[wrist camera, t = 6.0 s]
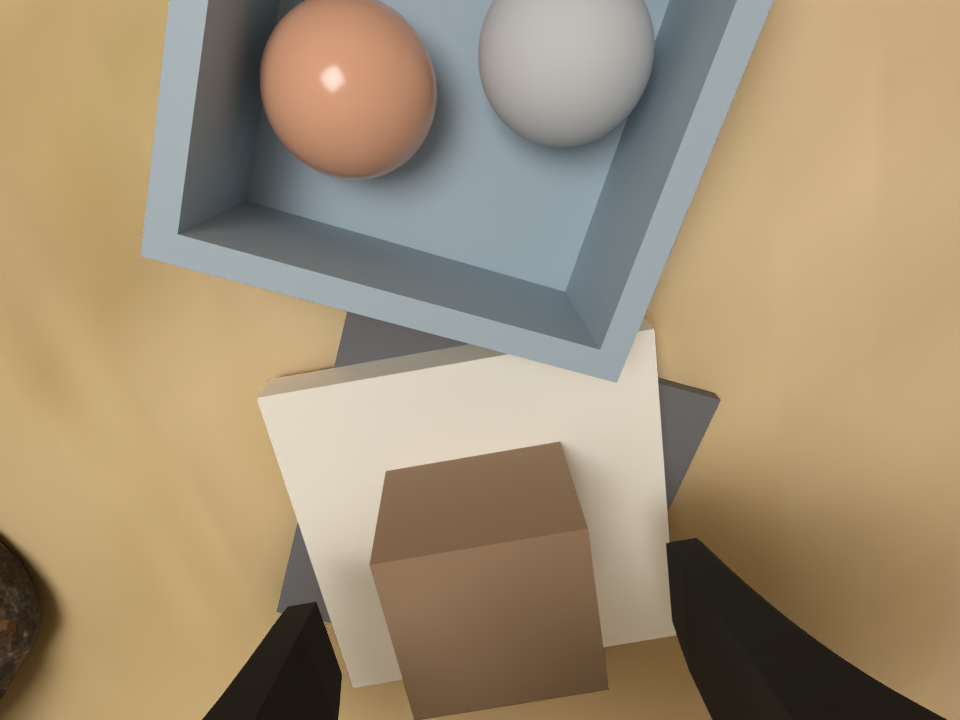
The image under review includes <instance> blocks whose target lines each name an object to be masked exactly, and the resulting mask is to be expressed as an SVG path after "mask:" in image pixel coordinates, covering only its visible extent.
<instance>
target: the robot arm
mask: <svg viewBox="0 0 960 720" xmlns="http://www.w3.org/2000/svg"><path fill="white" fill-rule="evenodd" d="M666 552H667V564H668V577H669V589H670V602H671V614H672V622H673V625H674V628H675V631H676V634H677V637H678V640H679V643H680V646H681V649H682V651H683V654H684V657H685V660H686V663H687V665H688V668H689V671H690V673H691V675H692V677H693V679H694V682H695V684H696V686H697V688H698V690H699V692H700V694H701V696H702V698H703V701H704V703H705V705H706V707H707V709H708V711H709V713H710V715H711V717H712V720H947V719H945V718H943V717H941V716H939V715H937V714H935V713H933V712H932V711H930V710H928V709H926V708H924V707H923V706H921V705H919V704H917V703H915V702H913V701H912V700H910V699H908V698H906V697H904V696H903V695H901V694H899V693H897V692H895V691H894V690H892V689H890V688H888V687H887V686H885V685H883V684H882V683H880V682H878V681H877V680H875V679H874V678H872V677H870V676H869V675H867V674H866V673H864V672H862V671H861V670H859V669H858V668H856V667H855V666H853V665H852V664H850V663H849V662H847V661H846V660H844V659H843V658H841V657H840V656H838V655H837V654H835V653H834V652H832V651H831V650H830V649H828V648H827V647H825V646H824V645H823V644H821V643H820V642H818V641H817V640H816V639H814V638H813V637H812V636H810V635H809V634H808V633H806V632H805V631H804V630H802V629H801V628H800V627H798V626H797V625H796V624H794V623H793V622H792V621H791V620H789V619H788V618H787V617H786V616H784V615H783V614H782V613H781V612H779V611H778V610H777V609H776V608H775V607H773V606H772V605H771V604H770V603H769V602H767V601H766V600H765V599H764V598H763V597H761V596H760V595H759V594H758V593H757V592H755V591H754V590H753V589H752V588H751V587H750V586H748V585H747V584H746V583H745V582H744V581H743V580H742V579H741V578H739V577H738V576H737V575H736V574H735V573H734V572H733V571H732V570H731V569H729V568H728V567H727V566H726V565H725V564H724V563H723V562H722V561H721V560H720V559H719V558H718V557H717V556H716V555H715V554H714V553H712V552H711V551H710V550H709V549H708V548H707V547H706V546H705V545H704V544H703V543H702V542H701V541H699V540H698V539H697V538H693V539H687V540H681V541H675V542H669V543H666ZM341 680H342V674H341V671H340V668H339V665H338V662H337V659H336V656H335V654H334V651H333V648H332V645H331V642H330V639H329V636H328V633H327V631H326V628H325V625H324V622H323V619H322V616H321V613H320V610H319V608H318V605H317V602H311V603H305V604H299V605H293V606H288V607H287V608H286V609H285V611H284V612H283V613H282V615H281V616H280V617H279V619H278V620H277V621H276V623H275V624H274V625H273V627H272V628H271V629H270V631H269V632H268V634H267V635H266V636H265V638H264V639H263V641H262V642H261V643H260V645H259V646H258V647H257V649H256V650H255V652H254V653H253V654H252V656H251V657H250V658H249V660H248V661H247V663H246V664H245V665H244V667H243V668H242V669H241V671H240V672H239V673H238V675H237V676H236V677H235V679H234V680H233V681H232V683H231V684H230V685H229V687H228V688H227V689H226V691H225V692H224V693H223V695H222V696H221V697H220V698H219V700H218V701H217V702H216V703H215V705H214V706H213V707H212V708H211V709H210V711H209V712H208V713H207V714H206V716H205V717H204V718H203V719H202V720H338V715H339V705H340V692H341Z"/></svg>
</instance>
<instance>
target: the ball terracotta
mask: <svg viewBox="0 0 960 720" xmlns="http://www.w3.org/2000/svg"><path fill="white" fill-rule="evenodd" d="M259 77H260V92H261V99H262V103H263V107H264V110H265V113H266V116H267V118H268V121H269V123H270V125H271V127H272V129H273V131H274V132H275V134H276V136H277V137H278V138H279V140H280V141H281V143H282V144H283V145H284V146H285V147H286V148H287V149H288V151H289V152H290V153H291V154H292V155H294V156H295V157H296V158H297V159H298V160H299V161H301V162H302V163H304V164H305V165H307V166H308V167H310V168H311V169H313V170H315V171H317V172H319V173H321V174H324V175H327V176H330V177H333V178H338V179H342V180H367V179H372V178H376V177H379V176H382V175H385V174H387V173H390V172H392V171H394V170H396V169H397V168H399V167H400V166H402V165H403V164H404V163H406V162H407V161H408V160H409V159H410V158H411V157H412V156H413V155H414V154H415V153H416V152H417V150H418V149H419V148H420V147H421V145H422V144H423V142H424V140H425V139H426V137H427V135H428V133H429V131H430V128H431V125H432V122H433V119H434V115H435V110H436V103H437V83H436V76H435V71H434V67H433V64H432V60H431V57H430V55H429V53H428V50H427V48H426V46H425V44H424V42H423V41H422V39H421V37H420V36H419V34H418V33H417V32H416V30H415V29H414V28H413V26H412V25H411V24H410V23H409V22H408V21H407V20H406V19H405V18H404V17H403V16H402V15H401V14H399V13H398V12H397V11H395V10H394V9H393V8H391V7H390V6H388V5H386V4H385V3H383V2H381V1H379V0H305V1H303V2H302V3H300V4H298V5H297V6H295V7H294V8H293V9H291V10H290V11H289V12H288V13H287V14H286V15H285V16H284V17H283V18H282V19H281V20H280V21H279V22H278V24H277V25H276V26H275V28H274V29H273V31H272V33H271V35H270V36H269V38H268V40H267V43H266V46H265V48H264V51H263V55H262V59H261V65H260V75H259Z"/></svg>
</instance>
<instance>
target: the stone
mask: <svg viewBox="0 0 960 720" xmlns="http://www.w3.org/2000/svg"><path fill="white" fill-rule="evenodd" d="M40 620H41V612H40V605H39V598H38V592H37V590H36V589H35V587H34V585H33V584H32V582H31V580H30V578H29V576H28V574H27V572H26V570H25V568H24V566H23V564H22V562H21V561H20V560H19V559H18V558H17V557H16V556H15V555H14V554H13V553H11V552H10V551H9V550H8V549H7V548H6V547H5V546H4V545H3V544H2V543H1V542H0V699H1V698H2V697H3V695H4V694H5V692H6V690H7V689H8V687H9V685H10V683H11V681H12V679H13V677H14V676H15V674H16V672H17V671H18V670H19V668H20V667H21V665H22V664H23V663H24V661H25V660H26V658H27V657H28V655H29V654H30V652H31V651H32V650H33V648H34V644H35V640H36V636H37V632H38V628H39V624H40Z"/></svg>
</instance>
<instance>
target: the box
mask: <svg viewBox="0 0 960 720" xmlns="http://www.w3.org/2000/svg"><path fill="white" fill-rule="evenodd" d="M303 1H305V0H169V7H168V16H167V25H166V34H165V43H164V51H163V60H162V69H161V78H160V87H159V96H158V105H157V114H156V123H155V132H154V141H153V150H152V159H151V168H150V177H149V186H148V195H147V203H146V212H145V221H144V230H143V239H142V248H141V256H142V257H145V258H149V259H153V260H157V261H160V262H164V263H168V264H172V265H175V266H179V267H183V268H187V269H190V270H194V271H198V272H202V273H206V274H209V275H213V276H217V277H221V278H224V279H228V280H232V281H236V282H239V283H243V284H247V285H251V286H254V287H258V288H262V289H266V290H269V291H273V292H277V293H281V294H284V295H288V296H292V297H296V298H299V299H303V300H307V301H311V302H314V303H318V304H322V305H326V306H329V307H333V308H337V309H341V310H344V311H348V312H352V313H356V314H360V315H363V316H367V317H371V318H375V319H378V320H382V321H386V322H390V323H393V324H397V325H401V326H405V327H408V328H412V329H416V330H420V331H423V332H427V333H431V334H435V335H438V336H442V337H446V338H450V339H453V340H457V341H461V342H465V343H468V344H472V345H476V346H480V347H483V348H487V349H491V350H495V351H498V352H502V353H506V354H510V355H513V356H517V357H521V358H525V359H529V360H532V361H536V362H540V363H544V364H547V365H551V366H555V367H559V368H562V369H566V370H570V371H574V372H577V373H581V374H585V375H589V376H592V377H596V378H600V379H604V380H607V381H611V382H615V383H617V382H618V379H619V377H620V374H621V372H622V369H623V367H624V365H625V362H626V360H627V357H628V355H629V352H630V350H631V347H632V345H633V343H634V340H635V338H636V335H637V333H638V330H639V328H640V325H641V323H642V321H643V318H644V316H645V313H646V311H647V308H648V306H649V303H650V301H651V299H652V296H653V294H654V291H655V289H656V286H657V284H658V281H659V279H660V277H661V274H662V272H663V269H664V267H665V264H666V262H667V259H668V257H669V255H670V252H671V250H672V247H673V245H674V242H675V240H676V237H677V235H678V233H679V230H680V228H681V225H682V223H683V220H684V218H685V215H686V213H687V211H688V208H689V206H690V203H691V201H692V198H693V196H694V193H695V191H696V189H697V186H698V184H699V181H700V179H701V176H702V174H703V171H704V169H705V167H706V164H707V162H708V159H709V157H710V154H711V152H712V149H713V147H714V145H715V142H716V140H717V137H718V135H719V132H720V130H721V127H722V125H723V123H724V120H725V118H726V115H727V113H728V110H729V108H730V105H731V103H732V101H733V98H734V96H735V93H736V91H737V88H738V86H739V83H740V81H741V79H742V76H743V74H744V71H745V69H746V66H747V64H748V61H749V59H750V57H751V54H752V52H753V49H754V47H755V44H756V42H757V39H758V37H759V35H760V32H761V30H762V27H763V25H764V22H765V20H766V17H767V15H768V13H769V10H770V8H771V5H772V3H773V0H644V1H645V4H646V6H647V8H648V11H649V14H650V17H651V20H652V26H653V31H654V44H655V47H654V60H653V66H652V71H651V74H650V78H649V81H648V84H647V86H646V88H645V91H644V93H643V95H642V96H641V98H640V100H639V102H638V103H637V105H636V106H635V108H634V109H633V110H632V112H631V113H630V114H629V115H628V116H627V117H626V118H625V119H624V121H623V122H622V123H621V124H619V125H618V126H617V127H616V128H615V129H613V130H612V131H611V132H609V133H608V134H606V135H604V136H603V137H601V138H599V139H597V140H595V141H593V142H590V143H586V144H583V145H579V146H574V147H549V146H544V145H540V144H536V143H534V142H531V141H529V140H526V139H525V138H523V137H521V136H519V135H518V134H516V133H515V132H514V131H512V130H511V129H510V128H509V127H508V126H507V125H506V124H505V123H504V122H503V121H502V120H501V119H500V118H499V117H498V115H497V114H496V113H495V111H494V110H493V108H492V106H491V105H490V103H489V101H488V99H487V97H486V94H485V92H484V89H483V86H482V82H481V78H480V72H479V66H478V48H479V39H480V34H481V29H482V26H483V23H484V20H485V17H486V14H487V12H488V10H489V8H490V6H491V4H492V2H493V1H494V0H379V1H381V2H383V3H385V4H386V5H388V6H390V7H391V8H393V9H394V10H395V11H397V12H398V13H399V14H401V15H402V16H403V17H404V18H405V19H406V20H407V21H408V22H409V23H410V24H411V25H412V26H413V28H414V29H415V30H416V32H417V33H418V34H419V36H420V37H421V39H422V41H423V42H424V44H425V46H426V48H427V50H428V53H429V55H430V57H431V60H432V64H433V67H434V71H435V76H436V83H437V103H436V110H435V115H434V119H433V122H432V125H431V128H430V131H429V133H428V135H427V137H426V139H425V140H424V142H423V144H422V145H421V147H420V148H419V149H418V150H417V152H416V153H415V154H414V155H413V156H412V157H411V158H410V159H409V160H408V161H407V162H406V163H404V164H403V165H402V166H400V167H399V168H397V169H396V170H394V171H392V172H390V173H387V174H385V175H382V176H379V177H376V178H372V179H367V180H342V179H338V178H333V177H330V176H327V175H324V174H321V173H319V172H317V171H315V170H313V169H311V168H310V167H308V166H307V165H305V164H304V163H302V162H301V161H299V160H298V159H297V158H296V157H295V156H294V155H292V154H291V153H290V152H289V151H288V149H287V148H286V147H285V146H284V145H283V144H282V143H281V141H280V140H279V138H278V137H277V136H276V134H275V132H274V131H273V129H272V127H271V125H270V123H269V121H268V118H267V116H266V113H265V110H264V107H263V103H262V99H261V92H260V77H259V75H260V65H261V59H262V55H263V51H264V48H265V46H266V43H267V40H268V38H269V36H270V35H271V33H272V31H273V29H274V28H275V26H276V25H277V24H278V22H279V21H280V20H281V19H282V18H283V17H284V16H285V15H286V14H287V13H288V12H289V11H290V10H291V9H293V8H294V7H295V6H297V5H298V4H300V3H302V2H303Z"/></svg>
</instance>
